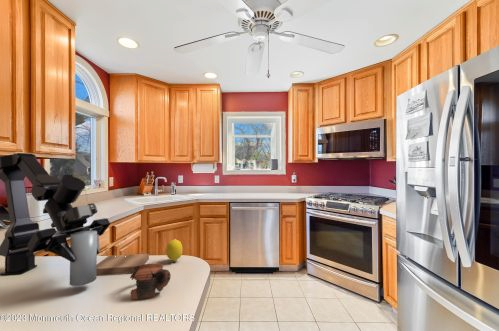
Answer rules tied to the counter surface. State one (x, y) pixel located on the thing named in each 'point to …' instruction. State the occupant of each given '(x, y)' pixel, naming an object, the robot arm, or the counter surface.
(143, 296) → the pottery mug
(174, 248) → the lemon
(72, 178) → the robot arm
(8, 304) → the counter surface
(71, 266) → the grey cylinder
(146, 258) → the shelf board
